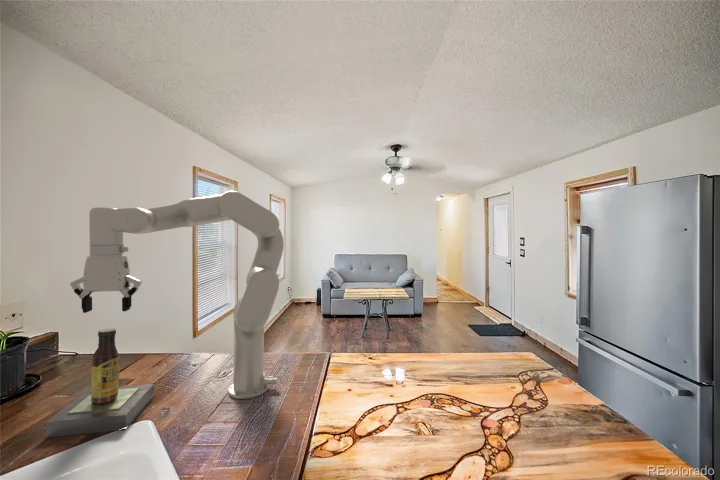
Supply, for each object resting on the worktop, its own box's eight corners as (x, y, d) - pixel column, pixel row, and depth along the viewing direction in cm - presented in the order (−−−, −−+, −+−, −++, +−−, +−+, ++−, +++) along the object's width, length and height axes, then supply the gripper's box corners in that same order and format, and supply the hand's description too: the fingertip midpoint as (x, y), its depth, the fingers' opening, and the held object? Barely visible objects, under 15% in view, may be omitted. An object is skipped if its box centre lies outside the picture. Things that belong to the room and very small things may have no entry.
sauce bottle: (103, 406, 89) (103, 334, 89) (84, 403, 90) (84, 332, 90) (124, 395, 96) (125, 328, 95) (107, 392, 97) (107, 326, 96)
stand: (153, 396, 104) (153, 382, 104) (126, 429, 86) (126, 413, 86) (88, 401, 100) (88, 387, 100) (45, 437, 82) (45, 420, 82)
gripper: (146, 250, 98) (146, 307, 98) (79, 250, 94) (80, 309, 94) (134, 252, 90) (134, 313, 91) (62, 252, 87) (62, 315, 87)
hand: (107, 311), depth 93 cm, fingers open, 9 cm apart
